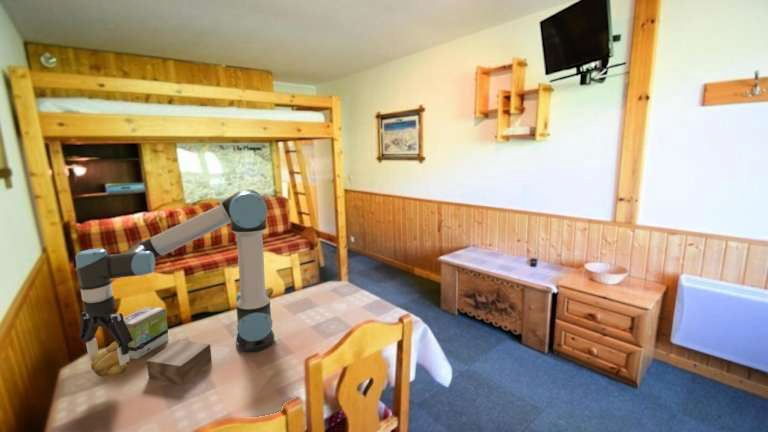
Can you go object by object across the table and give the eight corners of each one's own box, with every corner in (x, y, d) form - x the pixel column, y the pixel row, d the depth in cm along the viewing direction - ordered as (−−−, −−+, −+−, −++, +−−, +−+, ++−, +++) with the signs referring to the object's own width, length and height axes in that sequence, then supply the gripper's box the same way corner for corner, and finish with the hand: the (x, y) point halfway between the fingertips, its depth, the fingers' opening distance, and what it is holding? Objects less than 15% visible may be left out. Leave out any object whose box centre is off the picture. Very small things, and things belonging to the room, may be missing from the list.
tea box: (138, 360, 131) (133, 324, 129) (116, 357, 133) (111, 321, 131) (169, 339, 146) (166, 307, 143) (150, 337, 148) (145, 305, 145)
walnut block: (211, 361, 131) (210, 344, 129) (183, 384, 117) (180, 366, 116) (180, 356, 133) (178, 339, 132) (148, 379, 120) (146, 360, 119)
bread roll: (133, 373, 111) (130, 350, 110) (95, 387, 105) (90, 363, 103) (127, 357, 120) (123, 336, 119) (91, 369, 114) (87, 347, 112)
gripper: (140, 296, 109) (149, 358, 113) (81, 290, 114) (92, 350, 118) (117, 306, 102) (128, 372, 106) (55, 300, 107) (68, 363, 111)
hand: (109, 360), depth 112 cm, fingers closed on bread roll, 12 cm apart
